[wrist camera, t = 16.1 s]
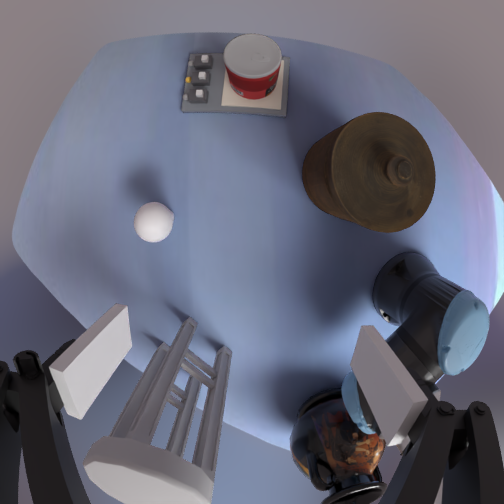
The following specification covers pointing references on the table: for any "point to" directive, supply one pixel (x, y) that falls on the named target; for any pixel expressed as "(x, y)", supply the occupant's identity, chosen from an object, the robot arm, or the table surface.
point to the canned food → (252, 65)
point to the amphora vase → (337, 451)
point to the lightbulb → (153, 222)
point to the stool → (170, 460)
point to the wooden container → (372, 173)
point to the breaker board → (228, 89)
